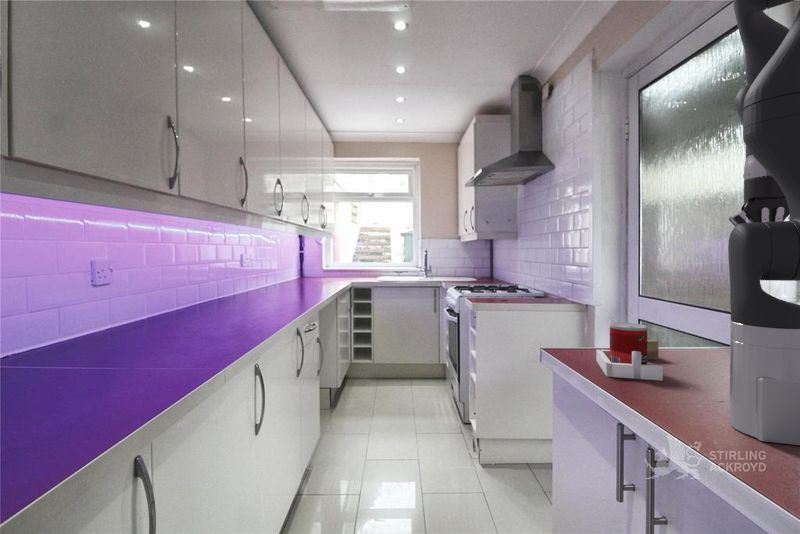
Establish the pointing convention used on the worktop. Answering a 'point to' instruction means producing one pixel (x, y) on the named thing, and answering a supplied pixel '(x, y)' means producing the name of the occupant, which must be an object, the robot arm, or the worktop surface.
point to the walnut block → (652, 349)
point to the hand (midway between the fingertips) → (766, 258)
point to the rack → (628, 367)
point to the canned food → (627, 342)
